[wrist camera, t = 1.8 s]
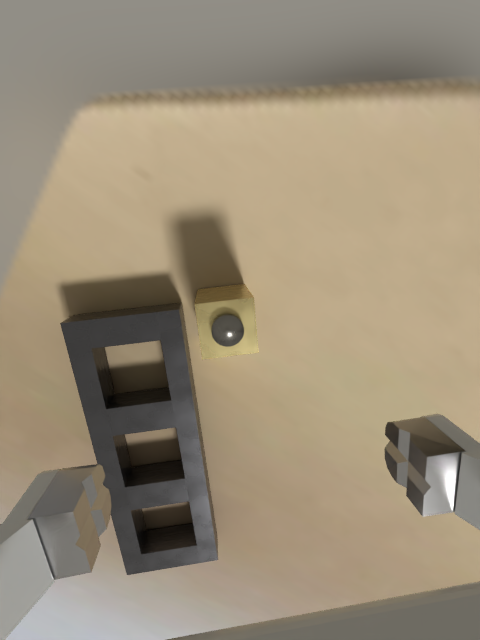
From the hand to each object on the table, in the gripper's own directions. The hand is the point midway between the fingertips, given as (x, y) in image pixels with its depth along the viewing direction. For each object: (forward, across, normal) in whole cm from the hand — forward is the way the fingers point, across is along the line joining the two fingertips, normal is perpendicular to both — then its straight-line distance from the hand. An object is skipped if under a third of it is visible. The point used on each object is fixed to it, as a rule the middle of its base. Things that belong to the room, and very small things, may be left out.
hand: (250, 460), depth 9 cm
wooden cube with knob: (+19, 0, 0) cm, 19 cm away
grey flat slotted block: (+19, +8, +12) cm, 24 cm away
